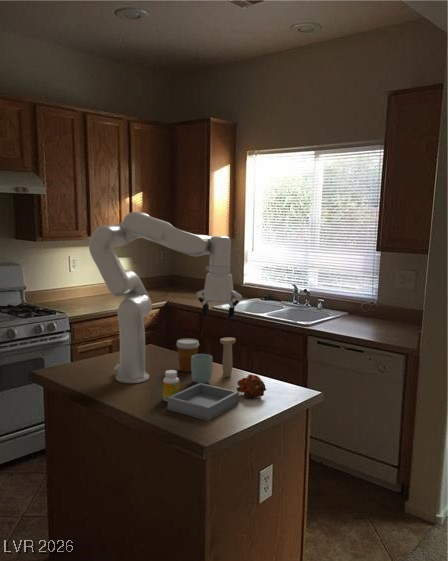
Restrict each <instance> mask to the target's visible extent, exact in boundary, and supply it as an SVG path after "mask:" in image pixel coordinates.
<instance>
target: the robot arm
mask: <svg viewBox="0 0 448 561" xmlns="http://www.w3.org/2000/svg"><path fill="white" fill-rule="evenodd" d="M140 238H142V239H143V240H148V241H150V242H152V243H153V242H154V243H157V244H159V245H162V246H164V247H166V248H168V249H170V250H172V251H173V250H174V251H175V252H179V253H183V254H184V255H188V256H190V257H200V256H205V255H209V265H207V266H205V270H206V271H208V273H207V274H206V277H205V282H204V289H201V290H199V291H197V292H196V293H195V294H196V296H197V298H198V301H199V302H200V303H201V305H202V314H203V317H206V316H208V315H209V310H210V309H209V302H216V303H227V304H228V305H229V307H228V319H233V317H234V316H235V308H236V306H237V305H238V304H240V301H241V299H242V298H243V295H241V294H240V293H239V292H237V291H236V290H234V282H233V275H232V273H231V255H232V254H231V251H232V250H231V249H232V248H231V247H232V240H231V238H230V237H229V236H226V235H225V236H224V235H220V236H219V235H215V236H210V235H205V234H194V233H191V232H188V231H184V230H182V229H179V228H177V227H175V226H173V224H171V223H170V222H168V221H165V220H162V219H159V218H156V217H153V216H150V215H149V214H147V213H146V212H141V211H132V212H129V213H127V214H126V215H125V216H124V219H123V221H121V222H119V223H117V224H104V225H101V226H98V227H96V228H95V230H93V232H92V233H91V235H90V238H89V241H88V248H89V249H88V250H89V253H90V256H91V258H92V260H93V262H94V263H95V264H94V265H96V267H97V270H99V273H100V275H101V278H102V279H103V281H104V283H105V285H106V287H107V289H108V291H109V292H110V294H111V295H112V296H114V297H117V298H118V297H119V298H120V297H123V300H122V301H121V302H120V303H119V305H118V308H117V319H118V329H119V330H118V332H119V363H116V364H115V366H114V367H113V371H116V372H117V374H116V375H115V380H116V381H117V382H119V383H122V382H123V384H137V383H138V384H139V383H143V382H146V381H148V380H149V378H150V374H149V373H148V372H146V332H145V331H146V330H145V329H146V328H145V324H144V318H146V317H148V316H149V315H150V313H151V312H152V309H153V304H152V303H153V302H152V299H151V297H150V295H149V294H148V292H147V290H146V288H145V286H144V284H143V282H142V280H141V279H140V276H139V275H138V274H137V273H135V271H132V270H130V269H125V268H124V267H123V265H122V263H121V261H120V259H119V257H118V256H117V254H116V253H115V252H114V251H113V248H118V247H123V246H125V245H127V244H128V243H131V242H133V241H135V240H137V239H140ZM234 297H235V298H236V299H235V301H234V300H233V299H234Z"/></svg>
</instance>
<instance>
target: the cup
mask: <svg viewBox="0 0 448 561" xmlns="http://www.w3.org/2000/svg"><path fill="white" fill-rule="evenodd" d="M212 375H213V356H212V355H211V354H208V353H207V354H206V353H197V354H196V355H193V356H192V357H191V378H192V380H193V382H194V383H195V384H199V383H202V384H207V383H209V382H210V380H211V379H212Z"/></svg>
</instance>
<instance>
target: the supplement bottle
mask: <svg viewBox="0 0 448 561" xmlns="http://www.w3.org/2000/svg"><path fill="white" fill-rule="evenodd" d="M164 376H165V377H164V378H163V381H162V399H163V401H165V402H168V397H170V396H172V395H174V394H176V393H179V392H180V378H179V377H177V376H178V371H177V370H175V369H169V370H166V371H165V374H164Z"/></svg>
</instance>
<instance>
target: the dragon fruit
mask: <svg viewBox="0 0 448 561" xmlns="http://www.w3.org/2000/svg"><path fill="white" fill-rule="evenodd" d="M237 386H238V387H236V391H238V392H239V393H242V394H243V397H244V398H245V399H247V398H251V399H255V400H256V399H258V397H259V398H260V397H264V395H265V391H267V387H266V385H265V383H264V381H263V380H262V378H260V377H259V376H258V374H257V375H254V374H251V373H250V374H248V375H247V377H242V379H239V380H238V381H237Z"/></svg>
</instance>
